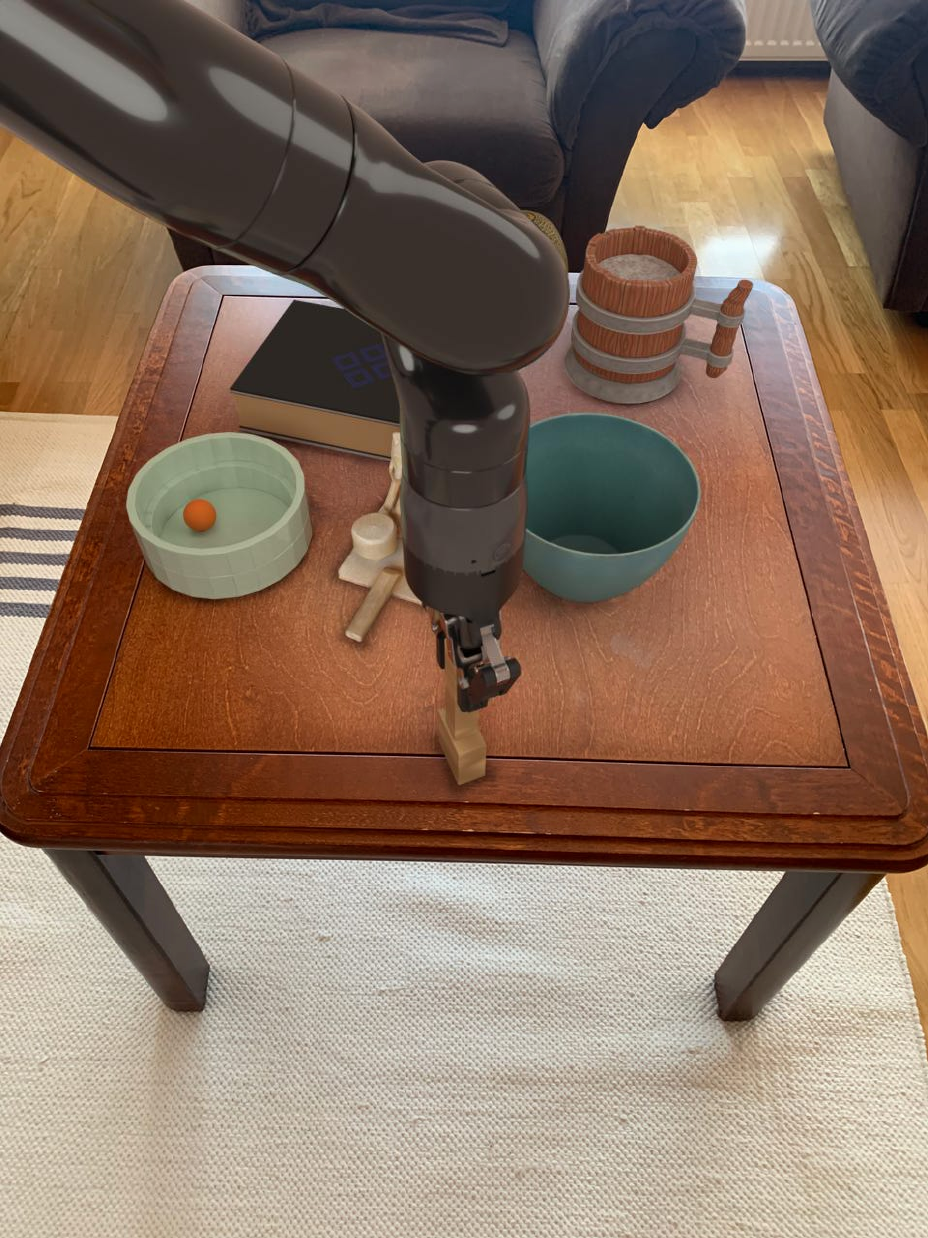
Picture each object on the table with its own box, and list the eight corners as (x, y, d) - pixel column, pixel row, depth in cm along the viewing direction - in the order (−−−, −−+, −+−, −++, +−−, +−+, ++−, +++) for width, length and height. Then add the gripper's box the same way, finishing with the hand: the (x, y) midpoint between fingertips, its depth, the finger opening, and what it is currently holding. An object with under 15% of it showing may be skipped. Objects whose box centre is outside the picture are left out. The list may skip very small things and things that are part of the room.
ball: (190, 541, 91) (183, 519, 89) (184, 520, 93) (176, 497, 91) (222, 532, 92) (216, 510, 90) (215, 511, 94) (208, 488, 91)
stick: (458, 785, 76) (459, 674, 63) (438, 741, 78) (435, 626, 66) (485, 775, 76) (491, 663, 64) (464, 732, 79) (466, 616, 66)
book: (301, 347, 113) (293, 298, 108) (497, 384, 109) (499, 335, 103) (240, 436, 102) (229, 387, 97) (455, 481, 98) (455, 433, 93)
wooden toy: (405, 475, 99) (399, 370, 88) (493, 505, 96) (498, 399, 85) (298, 621, 86) (276, 518, 76) (395, 659, 84) (387, 558, 73)
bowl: (164, 625, 86) (144, 575, 80) (132, 508, 95) (112, 457, 90) (334, 574, 90) (326, 524, 84) (287, 467, 99) (277, 415, 94)
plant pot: (667, 509, 96) (691, 416, 86) (682, 649, 84) (711, 560, 75) (493, 500, 96) (497, 407, 87) (485, 638, 85) (488, 548, 75)
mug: (583, 325, 116) (598, 209, 104) (734, 361, 112) (768, 245, 100) (547, 389, 108) (559, 272, 96) (709, 431, 104) (741, 313, 92)
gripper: (366, 463, 58) (383, 629, 72) (450, 626, 50) (451, 779, 64) (475, 434, 60) (471, 601, 74) (573, 587, 52) (548, 743, 65)
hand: (462, 683), depth 68 cm, fingers open, 3 cm apart
